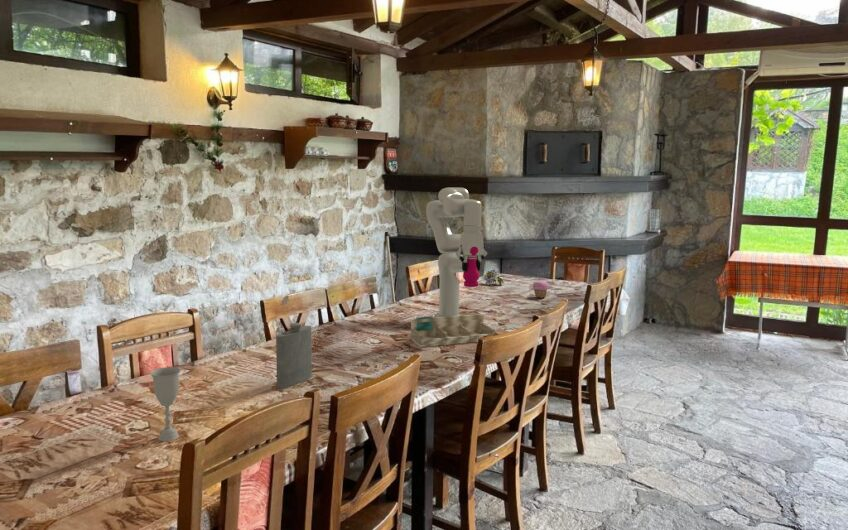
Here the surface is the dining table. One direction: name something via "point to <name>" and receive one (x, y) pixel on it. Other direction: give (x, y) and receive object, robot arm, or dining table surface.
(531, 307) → the dining table surface
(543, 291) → the cupcake
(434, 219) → the robot arm
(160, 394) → the chalice
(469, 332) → the rack
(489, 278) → the passion flower
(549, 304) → the dining table surface
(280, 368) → the hip flask
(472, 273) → the pepper mill
